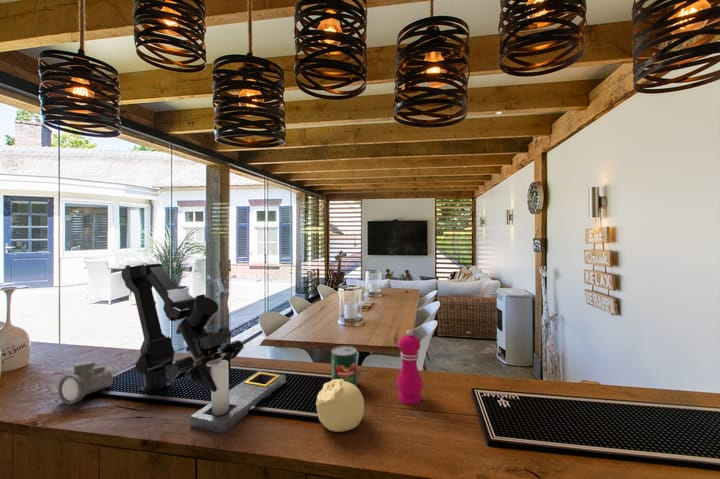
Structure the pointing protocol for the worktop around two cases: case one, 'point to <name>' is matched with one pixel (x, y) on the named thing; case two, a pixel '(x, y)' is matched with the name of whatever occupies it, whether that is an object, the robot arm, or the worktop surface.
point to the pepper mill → (409, 370)
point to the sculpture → (340, 405)
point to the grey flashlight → (84, 381)
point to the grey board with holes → (238, 402)
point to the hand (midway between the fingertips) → (223, 387)
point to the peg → (220, 387)
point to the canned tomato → (344, 364)
